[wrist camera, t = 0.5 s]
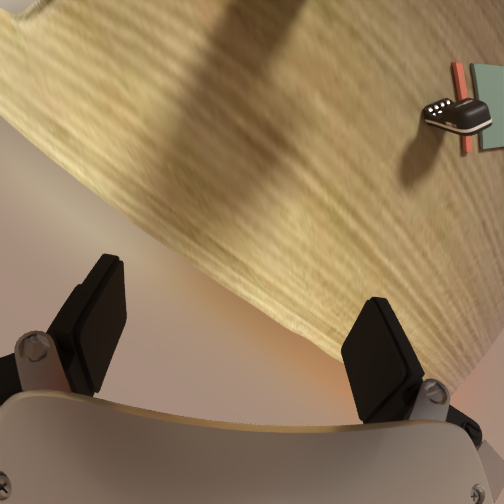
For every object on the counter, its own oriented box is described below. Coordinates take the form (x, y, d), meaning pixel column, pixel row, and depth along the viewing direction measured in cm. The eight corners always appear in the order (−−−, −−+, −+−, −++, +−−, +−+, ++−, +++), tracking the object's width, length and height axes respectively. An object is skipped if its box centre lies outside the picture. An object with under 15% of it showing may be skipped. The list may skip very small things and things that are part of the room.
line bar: (451, 62, 33) (455, 62, 32) (457, 62, 33) (461, 62, 32) (462, 150, 41) (466, 151, 40) (468, 149, 41) (472, 151, 40)
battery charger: (447, 92, 36) (491, 99, 26) (454, 112, 38) (497, 124, 28) (417, 104, 38) (460, 112, 28) (425, 125, 39) (467, 139, 29)
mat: (470, 63, 32) (473, 63, 32) (508, 67, 31) (511, 67, 30) (480, 147, 40) (483, 149, 39) (515, 143, 39) (518, 144, 38)
